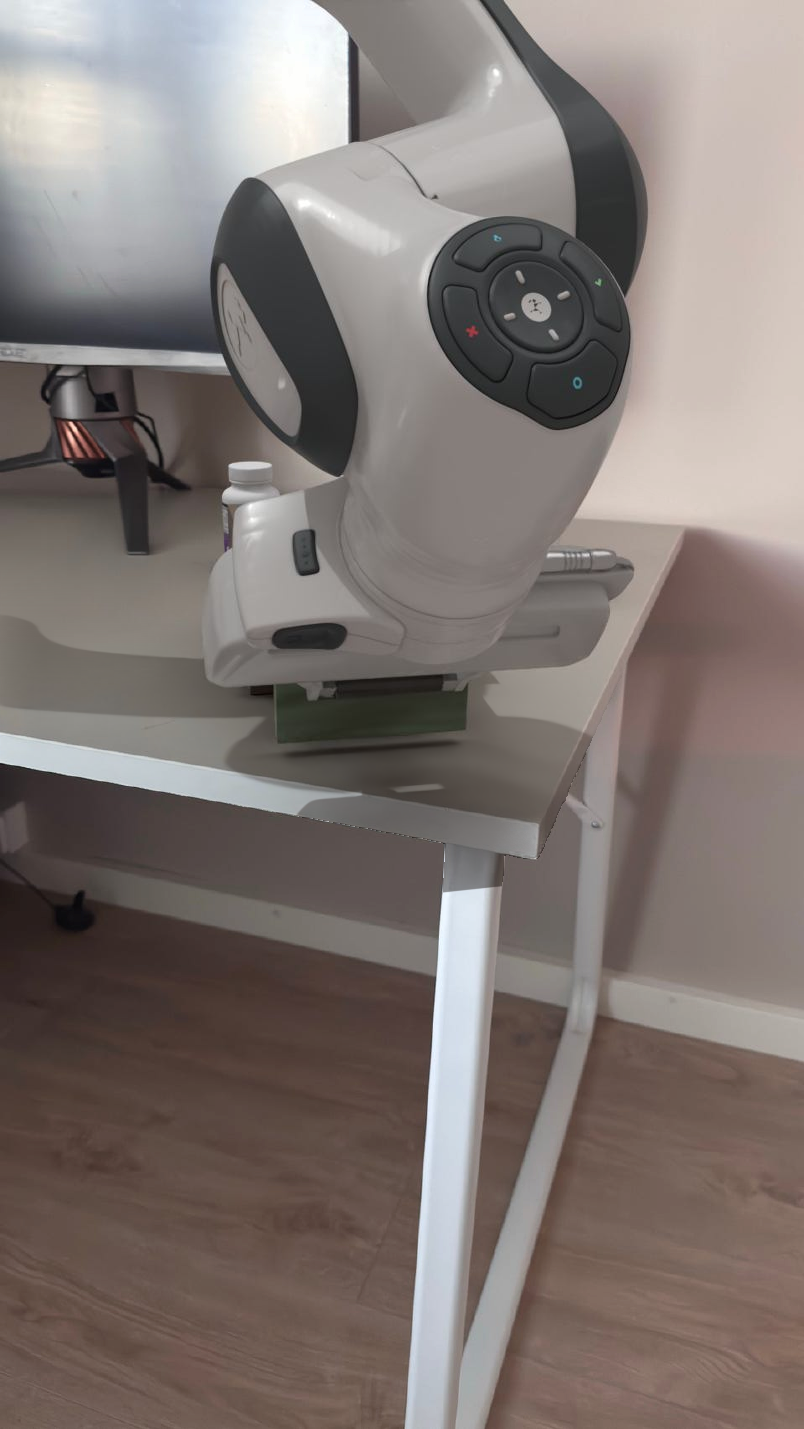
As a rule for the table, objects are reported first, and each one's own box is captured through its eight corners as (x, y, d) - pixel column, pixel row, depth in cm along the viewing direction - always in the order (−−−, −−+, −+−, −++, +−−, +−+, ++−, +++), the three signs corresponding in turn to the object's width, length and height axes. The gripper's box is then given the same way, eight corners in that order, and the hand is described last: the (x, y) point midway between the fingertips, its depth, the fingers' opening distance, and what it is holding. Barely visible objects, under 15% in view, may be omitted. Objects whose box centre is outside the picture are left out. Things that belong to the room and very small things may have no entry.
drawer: (486, 760, 62) (495, 630, 59) (286, 776, 59) (283, 641, 56) (414, 655, 78) (417, 548, 75) (253, 664, 75) (250, 554, 72)
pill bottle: (275, 559, 105) (273, 458, 101) (288, 574, 100) (286, 469, 96) (220, 563, 103) (215, 460, 99) (230, 578, 98) (226, 471, 94)
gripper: (633, 495, 51) (546, 624, 64) (198, 505, 47) (197, 642, 59) (663, 613, 49) (567, 723, 62) (210, 635, 45) (206, 749, 57)
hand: (382, 683), depth 61 cm, fingers closed on drawer, 6 cm apart
